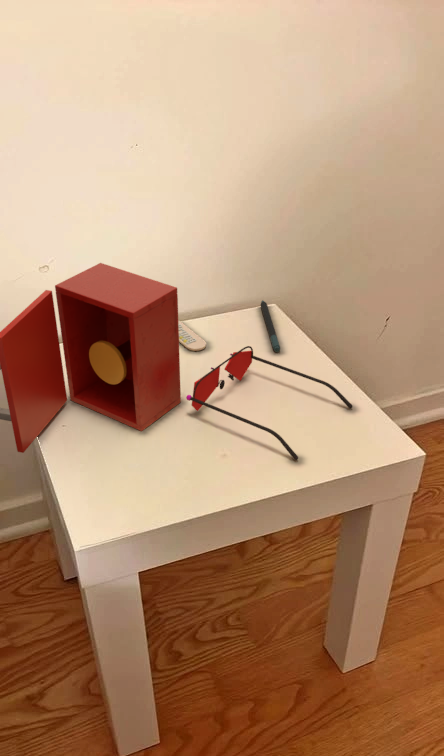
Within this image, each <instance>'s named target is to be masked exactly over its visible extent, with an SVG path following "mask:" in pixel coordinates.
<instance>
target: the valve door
mask: <svg viewBox="0 0 444 756" xmlns="http://www.w3.org/2000/svg"><path fill="white" fill-rule="evenodd" d="M54 302H55V301H54V296H53V290H49V289H45V290H44V291H43V292H42V293H41V294H40V295H39V296H38V297H36V298H35V299H34V300H33V301H32V302H31V303H30V304H29V305H28V306H27V307H25V309H23V310H22V311H21V312H20V313H19V314H18V315H17V316H15V318H14V319H12V321H10V322H9V323H8V324H7V325H6V326H5V327H4V328H3V329H1V331H0V369H1V370H0V371H1V376H2V380H3V385H4V391H5V397H6V400H7V406H8V408H4V407H0V420H2V421H7V422H11V425H12V426H11V427H12V432H13V436H14V441H15V447H16V451H17V453H22V454H24V453H25V452H26V450H27V449H28V448H29V447H30V446H31V444H33V442H35V440H36V439H37V437H38V436H39V435H40V434H41V432H42V431H43V430H45V428H46V427H47V425H48V424H49V423H50V422H51V421H52V420H53V418H54V417H55V416H56V415H57V413H58V412H59V411H60V410H61V408H62V407H63V406H64V405H65V404H66V402H67V401H68V395H67V390H66V389H67V388H66V381H65V375H64V374H65V373H64V368H63V367H64V366H63V359H62V353H61V346H60V339H59V331H58V324H57V318H56V317H57V316H56V309H55V303H54Z"/></svg>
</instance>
